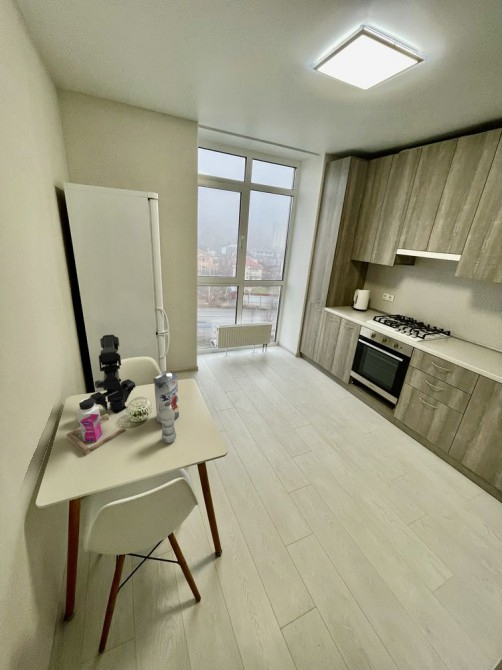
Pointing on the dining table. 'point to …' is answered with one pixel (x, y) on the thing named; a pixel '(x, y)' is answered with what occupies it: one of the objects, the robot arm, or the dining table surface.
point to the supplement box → (90, 427)
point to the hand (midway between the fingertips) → (116, 406)
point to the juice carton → (166, 392)
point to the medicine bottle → (86, 409)
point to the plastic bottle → (167, 423)
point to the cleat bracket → (86, 450)
